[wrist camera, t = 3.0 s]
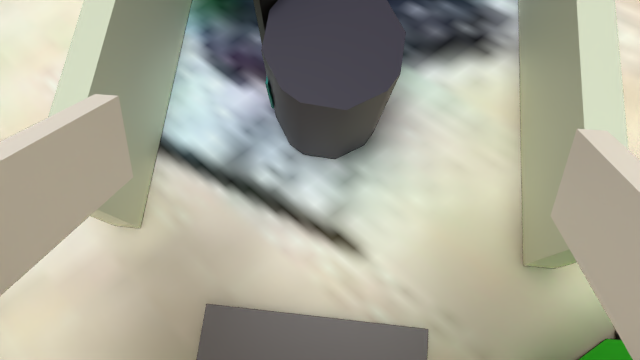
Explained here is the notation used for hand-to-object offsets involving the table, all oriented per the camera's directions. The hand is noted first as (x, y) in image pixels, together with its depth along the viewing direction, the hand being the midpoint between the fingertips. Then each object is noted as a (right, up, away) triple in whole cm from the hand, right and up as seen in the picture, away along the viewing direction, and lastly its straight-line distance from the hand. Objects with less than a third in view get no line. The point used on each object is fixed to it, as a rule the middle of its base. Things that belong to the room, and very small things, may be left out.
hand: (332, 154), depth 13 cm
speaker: (+1, +3, +13) cm, 13 cm away
